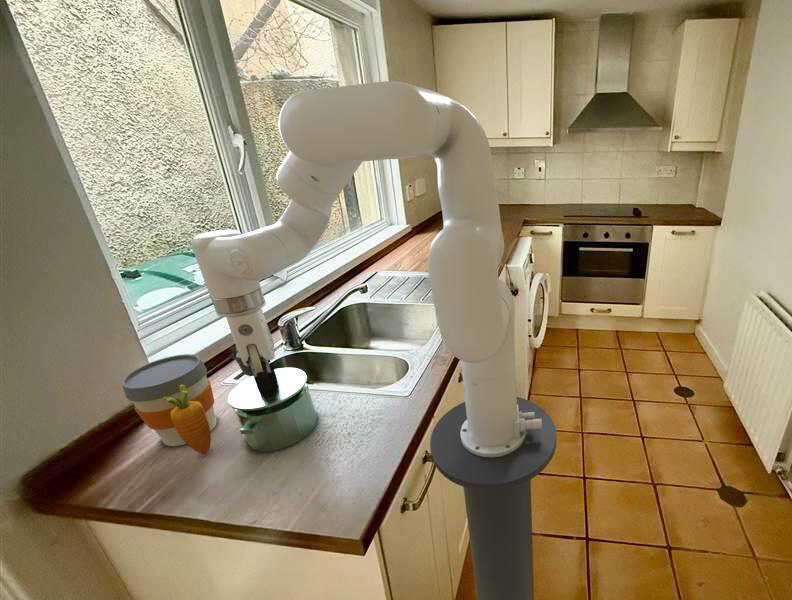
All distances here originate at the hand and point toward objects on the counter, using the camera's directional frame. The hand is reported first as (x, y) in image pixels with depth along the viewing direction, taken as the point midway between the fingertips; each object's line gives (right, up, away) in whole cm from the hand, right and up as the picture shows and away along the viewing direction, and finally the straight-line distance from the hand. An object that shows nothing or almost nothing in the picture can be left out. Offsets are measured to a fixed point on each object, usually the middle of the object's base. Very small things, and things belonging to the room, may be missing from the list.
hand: (268, 385), depth 77 cm
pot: (0, -10, +4) cm, 11 cm away
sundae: (-14, -5, +19) cm, 24 cm away
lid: (0, -1, 0) cm, 1 cm away
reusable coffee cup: (-20, -11, +5) cm, 23 cm away
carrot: (-11, -13, -1) cm, 17 cm away
